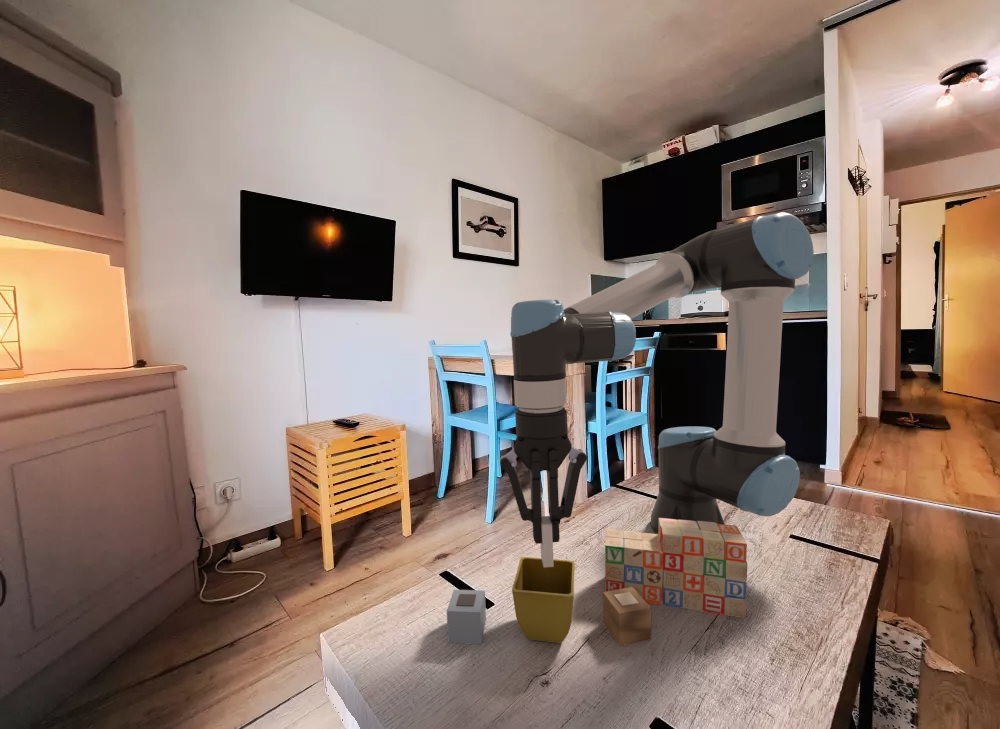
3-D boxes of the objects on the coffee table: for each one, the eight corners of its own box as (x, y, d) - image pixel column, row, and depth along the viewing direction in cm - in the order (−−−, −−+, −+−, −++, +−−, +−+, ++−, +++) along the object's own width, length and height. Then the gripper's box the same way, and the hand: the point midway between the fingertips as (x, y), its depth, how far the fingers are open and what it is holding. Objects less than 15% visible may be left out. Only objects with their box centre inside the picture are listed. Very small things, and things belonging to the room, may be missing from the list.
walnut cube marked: (632, 616, 65) (632, 585, 64) (650, 639, 60) (650, 606, 59) (603, 622, 64) (603, 591, 63) (619, 646, 59) (619, 612, 58)
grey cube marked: (486, 620, 65) (484, 589, 64) (481, 644, 60) (480, 611, 60) (455, 619, 65) (453, 588, 65) (448, 643, 60) (446, 610, 60)
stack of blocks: (604, 597, 70) (603, 527, 69) (606, 576, 76) (605, 511, 75) (747, 619, 63) (747, 542, 62) (736, 594, 69) (737, 523, 68)
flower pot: (575, 656, 57) (573, 595, 56) (513, 649, 59) (511, 589, 58) (576, 614, 66) (574, 560, 65) (522, 608, 67) (520, 556, 67)
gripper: (578, 400, 63) (583, 545, 65) (495, 405, 63) (502, 551, 65) (591, 409, 56) (596, 573, 58) (496, 415, 56) (505, 580, 57)
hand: (547, 561), depth 61 cm, fingers closed
